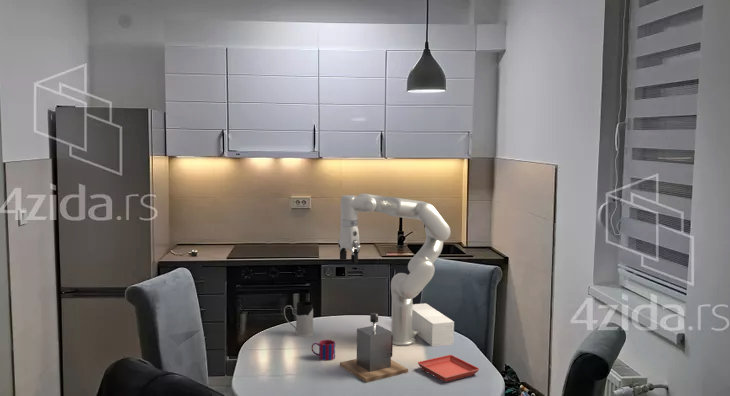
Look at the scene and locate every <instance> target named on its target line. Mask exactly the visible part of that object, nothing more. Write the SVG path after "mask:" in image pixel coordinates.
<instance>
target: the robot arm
mask: <svg viewBox="0 0 730 396" xmlns="http://www.w3.org/2000/svg"><path fill="white" fill-rule="evenodd" d="M359 212H361V213H371V212H376V213H382V214H385V215H388V216H391V217H395V218H396V217H397V218H404V219H411V220H417V221H421V222H422V223H423V225H424V226H425V227H424V231H425V242H424V243H423V245H422V246H421V248H420V249H419V250H418V251H417V252H416V254H414V256H413V257H412V258H410V260H409V262H408V264H407V270H408V271H409V274H407V273H405V272H398V273H396V274H395V275H393V277H392V278H391V281H390V291H391V292H390V293H391V328H390V329H391V330H390V331H391V335H393V345H396V346H409V345H413V344H415V343H416V338H415V337H416V336H418V335H420V331H414V330H412V311H413V304H414V303H413V299H414V298H416V297H417V296H418V295H419V294H420V293H421V292H422V291H423V289H425V287H426V286H427V285H428V284H429V283H430V281H431V280H432V278H433V277H434V275H435V271H436V270H435V265H434V263H435V261H436V260H437V258H439V256H440V255H441V253H442V251H443V248H444V242H445V241H447V240H448V239H449V238H450V237H451V227H450V226H449V224H448V223H447V222H446V221H445V219H444V217H442V215H441V214H440V213H439V211H438V210H437V208H435V206H434V205H433V204H431V203H429V202H426V201H422V200H417V199H416V200H414V199H409V198H408V199H407V198H401V197H396V196H395V197H393V196H392V197H391V196H384V195H376V194H369V193H360V194H358V195H354V194H353V195H351V194H350V195H349V194H347V195H346V194H345V195H341V197H340V229H339V239H338V240H337V242H338V243H337V244H338V248H339V249H338V250H339V260H340V261H342V260H343V261H345V260H347V250H349V251H350V252H351V255H350V263H351V265H353V264H354V265H355V264H359V263H358V262H359V254H360V250H361V245H360V233H359V232H360V231H359V227H358V222H359V221H358V220H359V219H358V217H359V214H358V213H359Z"/></svg>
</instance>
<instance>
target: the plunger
mask: <svg viewBox="0 0 730 396" xmlns="http://www.w3.org/2000/svg"><path fill="white" fill-rule="evenodd" d="M369 321H370V323H372V326H373V331H375V325H376V323H379V313H376V312H371V313H370V315H369Z"/></svg>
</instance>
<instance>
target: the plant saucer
mask: <svg viewBox="0 0 730 396" xmlns="http://www.w3.org/2000/svg"><path fill="white" fill-rule="evenodd" d="M417 364H418V365H419V367H420V368H421V369H422V370H423V371H424V372H426V373H428V374H430V375H431V374H432V376H433V375H434V376H433V377H435V376H436V377H435V378H437V379H438V380H441V381H442V380H443V381H442V382H444V381H445V383H448V382H452V381H455V379H456V380H459V378H460V379H463V377H464V378H466V377H467V376H468V377H471V376H474V375H475V374H476V373H478V372H479V370H480V368H479V367H477V366H475V365H473V364H471V363H469V362H467V361H465V360H463V359H461V358H459V357H458V356H455V355H453V354H448V355H444V356H443V355H442V356H438V357H434V358H431V359H426V360H420V361H417ZM468 377H467V378H468ZM451 380H452V381H451ZM447 381H448V382H447Z"/></svg>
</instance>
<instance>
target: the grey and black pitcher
mask: <svg viewBox="0 0 730 396" xmlns="http://www.w3.org/2000/svg"><path fill="white" fill-rule="evenodd" d="M288 307H289V308H291V310H292V314H293V315H294V316H296V320H295V321H296V323H295V324H296V326H295V325H294V324H293V323H292V322H290V321H289V320H288V318H287V316H286V308H288ZM283 315H284V318H285V320H286V322H287V323H289V325H291V326H292V328H294V329H295V333H294V335H295V336H296V337H298V338H309V337H313V336H314V335H315V334H314V308H313V301H312V302H311V301H308V300H303V301H298V302H297V303H296V313H294V308H293V306H292V305H285V307H284V309H283Z"/></svg>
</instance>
